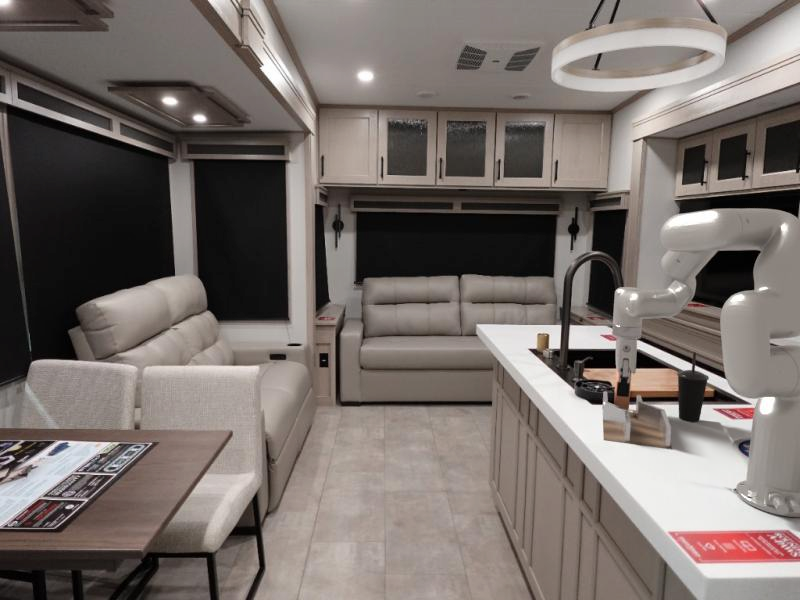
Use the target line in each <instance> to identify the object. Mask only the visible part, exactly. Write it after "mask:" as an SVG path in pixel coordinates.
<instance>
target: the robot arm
mask: <svg viewBox="0 0 800 600" xmlns="http://www.w3.org/2000/svg"><path fill="white" fill-rule="evenodd" d="M659 235H660V236H659V237H660V243H661V244H662V246H663V248H665V249H666V250H667V251H666V252H665V254H664V255H663V257H662V258H661V261H660V264H661V265H660V266H661V268H662V270H663V272H664V273H665V274H666V275H667V276H668V277H669V278H671V279H672V280H673V281H672V283H671V284H670V285H669V286H668V287H667V288H666V289H651V290H650V289H649V290H648V289H647V290H643V289H642V288H639V287H631V286H622V287H621V286H619V287H618V288H617V289H616V290H615V291H614V300H613V302H614V303H613V313H612V314H613V316H612V317H613V318H612V331H611V336H612V337H614V338H616V339H615V366H616V367H615V369H616V368H617V371H618V372H619V382H617V396H622V397H629V389H630V390H631V386H630V383H629V379H630V371H631V374H632V375H635V374H636V373H637V371H636V370H637V350H638V340H639V339H642V328H643V320H648V319H649V320H651V319H664V318H665V319H667V318H668V319H669V318H673V317H675V316H676V315H678V314H680V313H681V312H682V311H683V310H684V309H685V308H686V307H687V305H689V304H690V302H691V301H692V300H693V298H694V296H695V293H696V288H697V279H696V276H697V275H698V274H699V273H700V272H701V270H702V269H703V268H704V267H705V266H706V265H707V264H708V262H709V261H711V259H712V258H713V257H714V256H715V255H716V254H717V253H718V252H719V251H721V252H722V251H760V253H759V254H758V256H757V258H756V260H755V263H754V266H753V271H752V273H753V274H752V275H753V282H754V285H753V286H754V289H752V290H743V291H739V292H737V293H734V294H732V295H730V296H729V298H728V299H727V300H725V302H724V304H723V306H722V309H721V312H720V317H719V318H720V319H719V321H720V325H719V326H720V338H721V350H722V352H721V353H722V360H723V361H722V362H723V369H724V370H723V371H724V376H725V378H726V382H727V384H728V385H729V387H730V388H731V390H732V391H733V392H735V393H736V394H737V395H738V396H741V397H742V398H746V399H752V400H754V399H755V400H756V399H757V401H756V403H755V406H754V409H753V416H752V425H751V434H750V441H749V442H750V443H749V444H750V445H749V451H748V462H747V471H746V479H745V480H742V481H740V482H738V483H737V484H736V489H735V490H736V491H735V492H736V494H737V496H738V497H739V498H740V499H741V500H743V502H745V503H746V504H748V505H750V506H751V507H754V508H756V509H759V510H761V511H763V512H766V513H769V514H773V515H778V516H782V517H790V518H800V345H792V344H791V345H790V344H789V345H788V344H786V345H771V340H780V339H781V340H782V339H792V338H796V337H799V336H800V219H799V218H798V217H797V216H795V215H794V214H792V213H790V212H786V211H783V210H780V209H775V208H774V209H773V208H758V207H757V208H755V207H754V208H750V207H749V208H748V207H747V208H730V207H729V208H712V209H705V210H698V211H691V212H685V213H677V214H675V215H672V216H671V217H669V218H668V219H667V220H666V221H665V222H664V224H663V225H662V227H661V230H660V234H659ZM621 370H623V372H621ZM621 374H623V375H621Z"/></svg>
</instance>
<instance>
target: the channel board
mask: <svg viewBox="0 0 800 600" xmlns="http://www.w3.org/2000/svg"><path fill="white" fill-rule="evenodd" d="M601 407H602V408H601V410H603V405H602V406H601ZM628 410H629V416H630V421H631V427H630V441H629V442H626V441H625V437H624V430H623V428H621V427H619V426H617V425H615V424H612V423H610V422H608V421H606V420H603V419H602V426H603V427H602V429H603V431H602V432H603V441H607V442H614V443H620V444H621V443H622V444H628V445H637V446H644V447H650V448H651V447H652V448H657V449H666V450H673V446H672V444H671V442H670V448H669V447H665V445H664V442H663V438H662V435H661V432H660V429H659V428H658V427H656V426H653V425H651V424H648V423H646V422H643V421H641V420H639V419H637V415H636V409H630V408H629V409H628Z"/></svg>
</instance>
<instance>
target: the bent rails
mask: <svg viewBox="0 0 800 600" xmlns="http://www.w3.org/2000/svg"><path fill="white" fill-rule="evenodd" d="M602 395H603V397H602V406H603V409H602V421H603V420H606V421H608V422H610V423H612V424H615V425H617V426H619V427H621V428H623V430H624V437H625V441H626V442H629V441H630V427H631V421H630V416H629V410H630V409H629V410H626V409H624V408H621V407H619V406H616V405H614V403H611V402H609V401H608V400H609V399H608V398H609V397H608V391H606V390H605V391H603V394H602ZM635 404H636V405H635V410H636V415H637V419H639V420H641V421H643V422H646V423H648V424H651V425H653V426H656V427H658V428H659V429H660V432H661V435H662V438H663V442H664V445H665V447H669V448H670V443H671V439H672V438H671V436H672V426H671V423H670V420H669V417H668V414H667V412H666V410H665V409H663V408H660V407H657V406H655V405H653V404H650V403H647V402H645V401H643V399H642V395H641V394H636V402H635Z"/></svg>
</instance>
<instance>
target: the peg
mask: <svg viewBox="0 0 800 600" xmlns="http://www.w3.org/2000/svg"><path fill="white" fill-rule="evenodd" d="M621 372H623V370H621ZM621 375H623V374H621ZM631 381H632V373H631V371H630V379H629V383H630V387H631V383H632V382H631ZM617 382H619V372H618V371H617V368H616V367H615V384H614V385H615V386H614V399H613V401H614V402H613V404H614V405H616V406H619V407H621V408H624V409H626V410H628V409H629V410H630V399H631V397H630V396H631V388H630V389H629V397H622V396H617Z"/></svg>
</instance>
